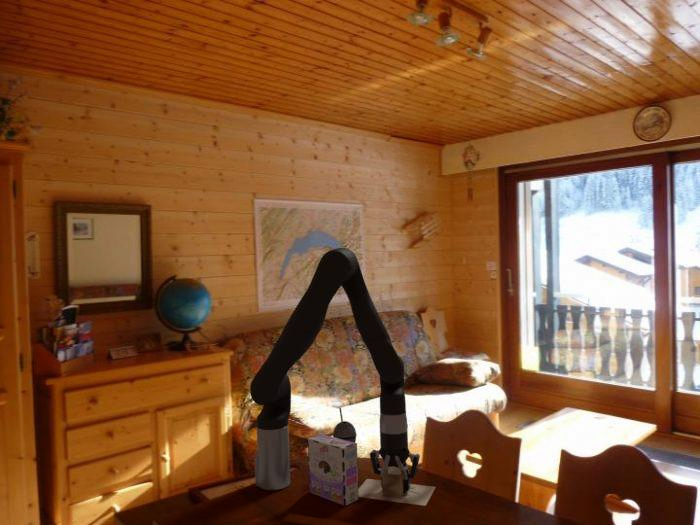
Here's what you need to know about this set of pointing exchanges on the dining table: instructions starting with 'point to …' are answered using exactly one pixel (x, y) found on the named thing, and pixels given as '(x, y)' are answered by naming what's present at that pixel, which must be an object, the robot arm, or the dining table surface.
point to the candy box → (333, 469)
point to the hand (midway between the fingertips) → (395, 490)
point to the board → (413, 496)
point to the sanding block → (392, 483)
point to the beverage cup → (345, 430)
